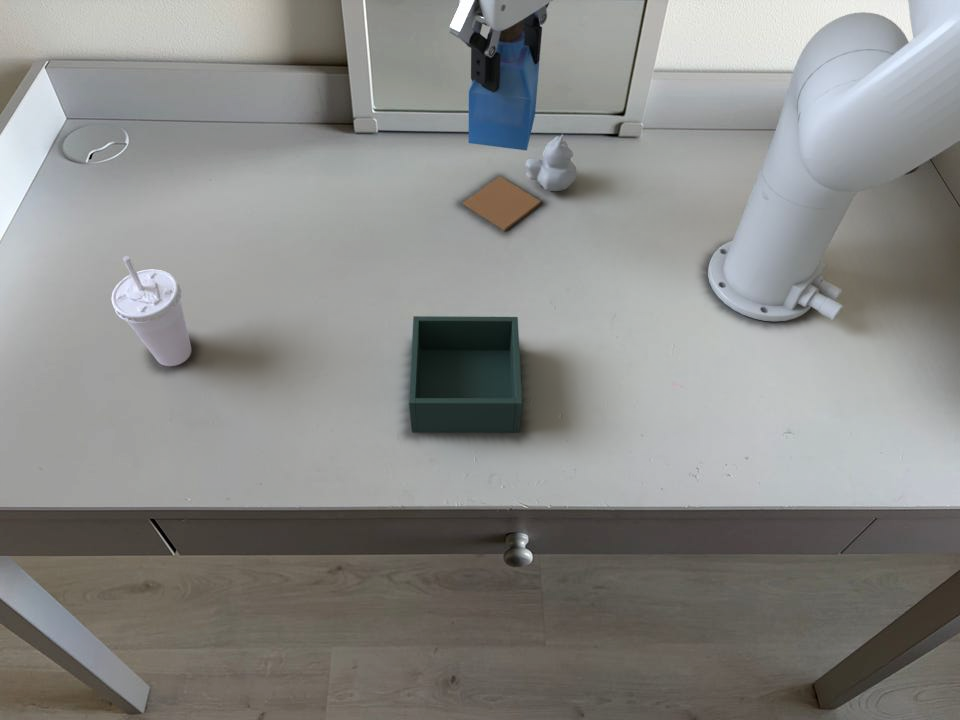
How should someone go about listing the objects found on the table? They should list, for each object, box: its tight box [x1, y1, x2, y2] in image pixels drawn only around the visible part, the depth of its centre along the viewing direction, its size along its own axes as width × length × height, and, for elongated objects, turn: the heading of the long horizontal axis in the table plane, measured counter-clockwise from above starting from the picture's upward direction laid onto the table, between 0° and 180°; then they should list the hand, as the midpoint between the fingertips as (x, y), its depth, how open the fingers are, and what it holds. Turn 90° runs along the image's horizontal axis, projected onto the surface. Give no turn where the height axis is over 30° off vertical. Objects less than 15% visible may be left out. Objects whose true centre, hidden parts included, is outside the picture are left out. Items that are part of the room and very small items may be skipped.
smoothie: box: [110, 255, 192, 367], centre depth 78 cm, size 6×6×14 cm
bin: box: [408, 315, 523, 433], centre depth 79 cm, size 11×11×5 cm
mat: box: [462, 175, 542, 232], centre depth 98 cm, size 7×7×1 cm
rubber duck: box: [525, 133, 578, 192], centre depth 98 cm, size 5×7×8 cm
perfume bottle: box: [468, 20, 540, 151], centre depth 78 cm, size 6×6×12 cm
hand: (505, 70), depth 78 cm, fingers closed on perfume bottle, 5 cm apart
